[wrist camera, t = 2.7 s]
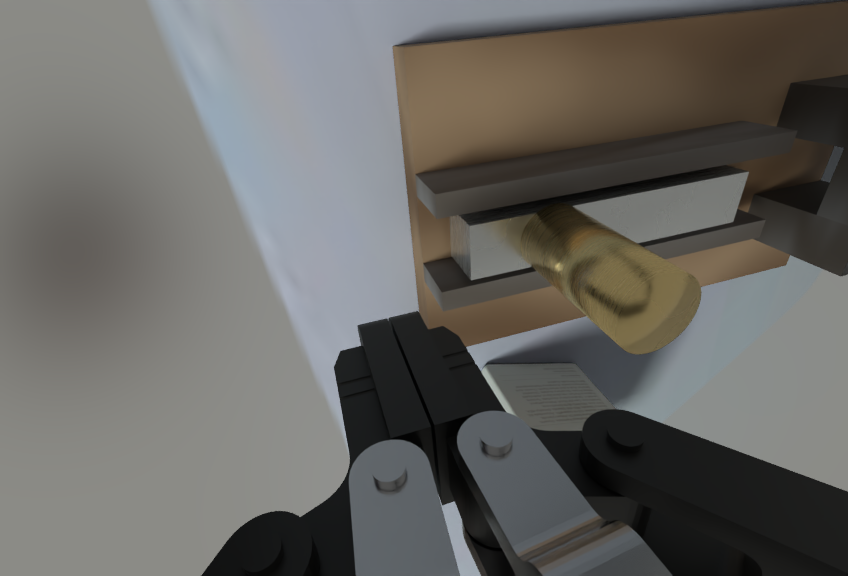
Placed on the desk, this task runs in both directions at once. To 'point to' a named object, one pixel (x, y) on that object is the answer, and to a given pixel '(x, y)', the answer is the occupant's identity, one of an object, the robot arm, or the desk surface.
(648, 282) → the slide latch
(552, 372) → the skincare box
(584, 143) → the plate
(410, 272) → the desk surface
